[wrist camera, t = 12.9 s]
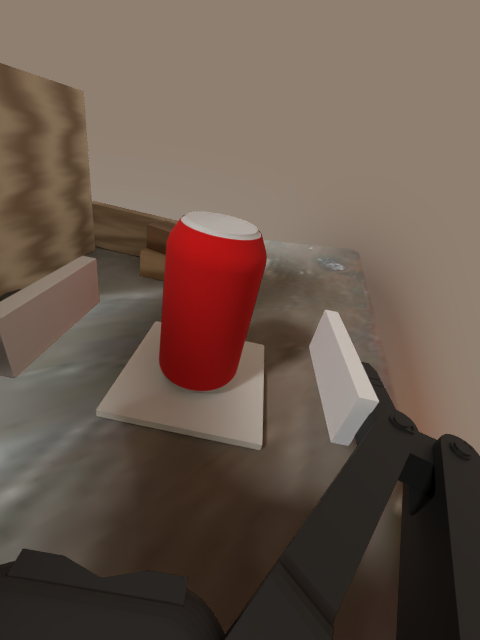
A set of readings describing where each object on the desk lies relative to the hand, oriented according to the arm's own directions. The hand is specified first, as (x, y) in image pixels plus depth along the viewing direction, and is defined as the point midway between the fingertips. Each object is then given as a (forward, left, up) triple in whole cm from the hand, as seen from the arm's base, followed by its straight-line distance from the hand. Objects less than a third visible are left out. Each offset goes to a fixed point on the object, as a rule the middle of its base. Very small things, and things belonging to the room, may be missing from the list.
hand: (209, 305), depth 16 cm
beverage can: (-1, +3, -8) cm, 9 cm away
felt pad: (-1, +3, -8) cm, 9 cm away
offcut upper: (-15, +17, -5) cm, 23 cm away
